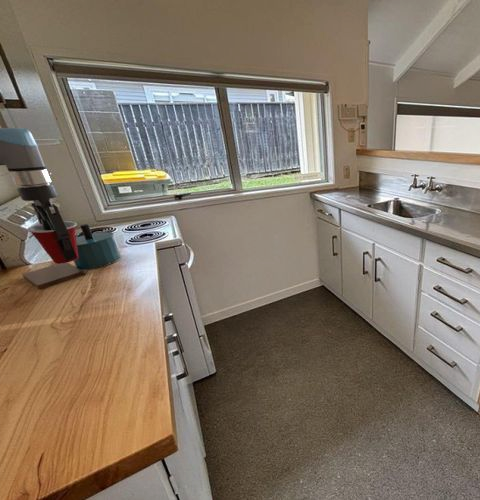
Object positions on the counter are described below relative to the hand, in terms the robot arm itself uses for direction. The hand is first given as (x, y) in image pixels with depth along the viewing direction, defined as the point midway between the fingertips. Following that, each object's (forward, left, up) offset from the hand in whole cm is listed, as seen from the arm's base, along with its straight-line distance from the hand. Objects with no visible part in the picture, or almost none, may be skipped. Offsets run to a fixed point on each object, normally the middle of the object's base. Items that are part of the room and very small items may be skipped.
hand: (66, 256), depth 91 cm
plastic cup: (0, 0, -2) cm, 2 cm away
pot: (-7, +20, -11) cm, 24 cm away
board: (-15, +9, -11) cm, 21 cm away
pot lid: (-7, +20, -1) cm, 21 cm away
